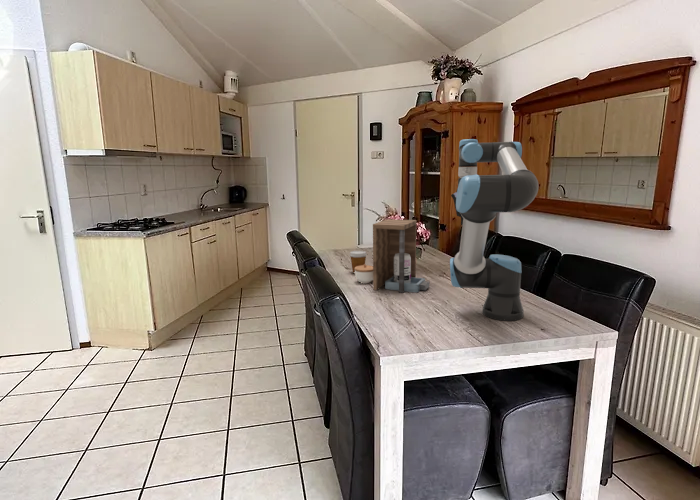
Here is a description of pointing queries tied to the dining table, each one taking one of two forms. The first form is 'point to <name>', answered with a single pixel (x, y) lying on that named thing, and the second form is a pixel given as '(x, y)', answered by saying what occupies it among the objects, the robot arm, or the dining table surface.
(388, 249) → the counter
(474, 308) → the dining table surface
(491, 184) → the robot arm
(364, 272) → the lidded jar
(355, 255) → the disposable coffee cup
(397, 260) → the supplement can
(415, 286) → the tray
